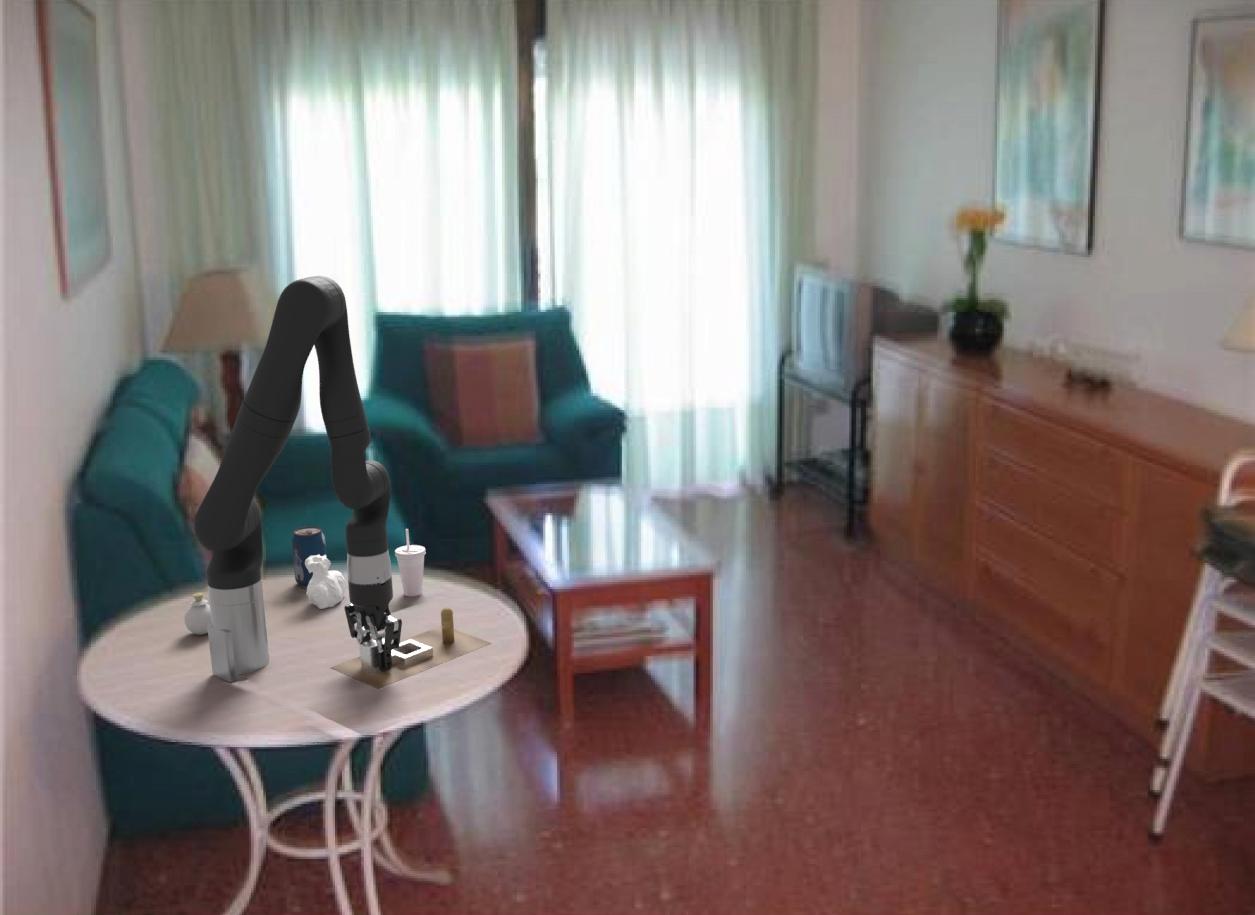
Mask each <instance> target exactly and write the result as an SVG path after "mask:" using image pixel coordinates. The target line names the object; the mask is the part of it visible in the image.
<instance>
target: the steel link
mask: <svg viewBox="0 0 1255 915" xmlns="http://www.w3.org/2000/svg"><path fill="white" fill-rule="evenodd" d="M382 642H383V644H384V643H385V637H384V638H382ZM408 651H412V653H409V654H406V655H405V654H403V653H405V652H408ZM359 652H360V653H359V657H361V669H362V671H364V672H366V673H368V674H371V675H373V674H376V673H378V672H381V670H379V659H378V652H379V650H378V647H377V643H376V641H375V640H373V639H371V640H370V641H367V642H365V643H362V644H359ZM391 656H392V665H393V664H395V663H397V664H399V665H402V666H404V667H406V666H409V665H411V664H414V663H416V662H419V661H421V660H424V659H426V658H429V657H432V656H433V648H432V647H430V646H427V645H425V644H422V643H419V642H417V641H414V640H412V639H409V640H407V641H404V642H401V643H400V645H399V648H395V649H393V650H391Z"/></svg>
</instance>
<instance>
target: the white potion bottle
mask: <svg viewBox="0 0 1255 915" xmlns="http://www.w3.org/2000/svg"><path fill="white" fill-rule="evenodd" d="M204 590H205V591H206V592H208V585H205V588H204ZM203 596H204V593H202V592H197V593H196V592H195V593H194V594H193V598H194V599H193V600H192V601H190V603H189V604H190V607H189V608H188V609H187V610H186V613H184V614H185V615H184V625H185V627H186V628H187V630H188V631H189V632H190V633H192V634H194V635H200V636H201V635H205V634H208V628H207V626H208V625H209V624H211V623H212V620H211V611H210V604H208V602H209V601H208V600H207V599H205V598H203Z"/></svg>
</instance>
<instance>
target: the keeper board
mask: <svg viewBox="0 0 1255 915" xmlns="http://www.w3.org/2000/svg"><path fill="white" fill-rule="evenodd" d="M440 620H441V622H440V623H441V626H437V627H434V628H432V629H429V630H427V631H425V632H421V633H419V634H417V635H414V636H411V637H409V638H405V639H403V640H400V643H401V642H404V641H407V640H409V639H412V640H414V641H417V642H419V643H422V644H425V645H427V646H430V647H432V648H433V656H432V657H429V658H426V659H424V660H421V661H419V662H416V663H414V664H411V665H409V666H406V667H404V666H402V665H399V664H397V663H395V664H393V665H392V667H391V669H389V670H386V671H384V672H383V671H381V672H378V673H376V674H373V675H371V674H368V673H366V672H364V671H362V669H361V657H360V656H358V657H355V658H352V659H349V660H347V661H344V662H342V663H339V664H335V665H333V666H331V667H330V669H332V670H334V671H336V672H339V673H341V674H343V675H345V676H347V677H350V678H352V679H355V680H357V681H358V682H359V681H360V682H361V683H364V684H366V685H368V686H371V687H373V688H375V689H377V690H379V689H381V688H384V687H386V686H388V685H391V684H395V683H396V682H399V681H402V680H403V679H406V678H409V677H411V676H415V675H416V674H418V673H422V672H424V671H426V670H428V669H432V668H434V667H437V666H439V665H441V664H443V663H447V662H449V661H452V660H453V659H456V658H459V657H461V656H463V655H467V654H468V653H471V652H475V651H476V650H478V649H481V648H483V647H487V646H489V645H492V642H489V641H487V640H485V639H482V638H479V637H475V636H473V635H472V634H468V633H465V632H463V631H460V630H457V629H455V627H454V612H453V610H452V609H451V608H450V607H444V608H443V609H442V610H441V611H440ZM409 653H412V651H408V652H405V653H403V654H405V655H406V654H409Z"/></svg>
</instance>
